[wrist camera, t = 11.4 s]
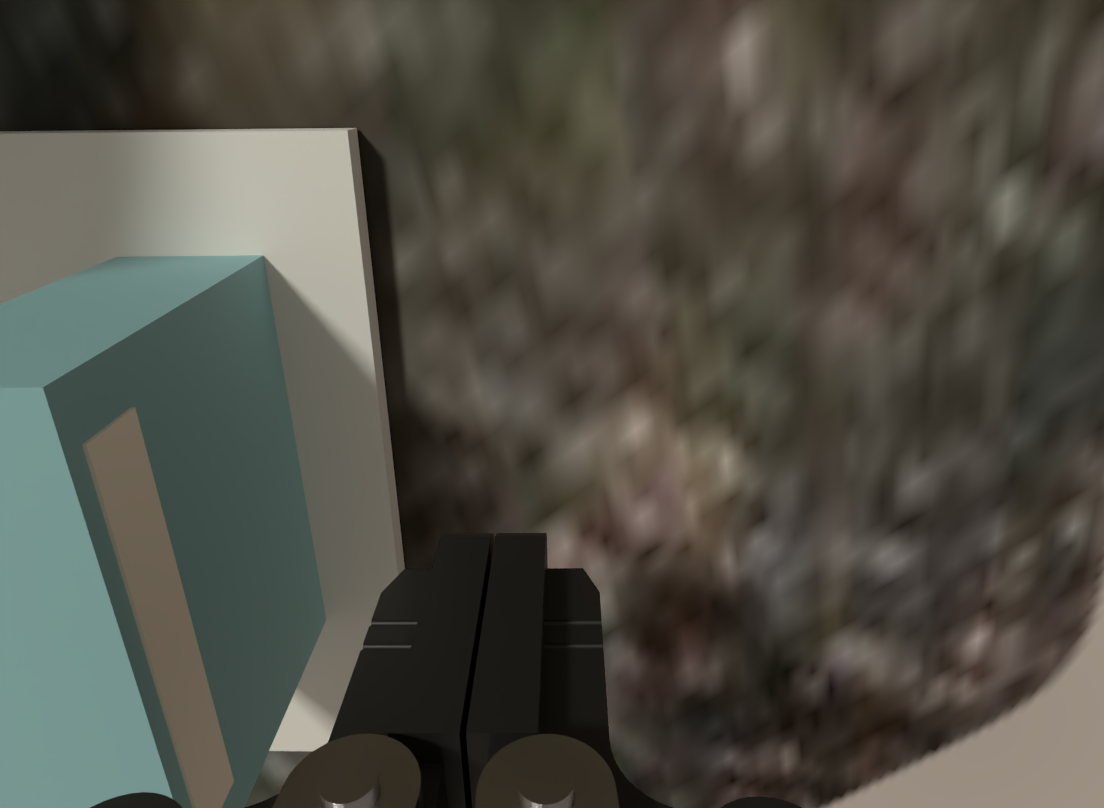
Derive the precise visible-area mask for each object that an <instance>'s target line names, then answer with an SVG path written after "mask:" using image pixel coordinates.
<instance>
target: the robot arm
mask: <svg viewBox="0 0 1104 808" xmlns="http://www.w3.org/2000/svg"><path fill="white" fill-rule="evenodd" d="M90 808H182V807H181V805H180V804H178V803H177V802H176V801H175V800H174V799H172V798H170V797H168V796H166V795H162V794H158V793H150V792H140V793H130V794H126V795H121V796H117V797H114V798H111V799H108V800H106V801H103V802H101V803H99V804H96V805H94V806H92V807H90ZM245 808H672V807H669V806H667V805H664V804H661V803H659V802H657V801H655V800H653V799H652V798H650V797H648V796H646V795H645V794H644V793H642V792H641V791H640V790H638V789H637V788H636V787H635V786H634V785H633V784H632V783H631V782H629V781H628V780H627V778H626V777H625V776H624V774H623V773H622V772H621V771H620V769H619V767H618V765H617V764H616V762H615V760H614V757H613V754H612V751H611V747H610V741H609V727H608V712H607V697H606V682H605V667H604V652H603V637H602V625H601V608H600V593H599V591H598V589H597V588H596V586H595V585H594V583H593V582H592V581H591V579H590V578H589V576H588V575H587V573H586V572H585V571H584V569H583V568H573V569H548V568H547V535H546V533H497V534H496V537H495V541H494V536H493V534H442V535H441V538H440V541H439V545H438V548H437V552H436V556H435V559H434V563H433V567H432V569H404V570H403V571H402V572H401V573H400V574H399V575H398V576H397V577H396V578H395V579H394V580H393V581H392V582H391V583H390V584H389V585H388V586H387V587H386V588H385V589H384V590H383V591H382V592H381V594H380V597H379V600H378V603H377V606H376V608H375V611H374V614H373V617H372V620H371V626H369V628H368V631H367V634H366V637H365V639H364V642H363V650H361V651H360V653H359V656H358V659H357V662H356V665H355V668H354V670H353V673H352V676H351V679H350V682H349V684H348V687H347V690H346V693H345V696H344V699H343V701H342V704H341V707H340V710H339V713H338V715H337V718H336V721H335V724H334V727H333V730H332V732H331V735H330V738H329V741H328V743H326V744H325V745H323V746H321V747H319V748H318V749H316V750H314V751H313V752H312V753H310V754H309V755H308V756H306V757H305V758H304V759H303V760H302V761H301V762H300V763H299V764H298V765H297V766H296V767H295V768H294V770H293V771H292V772H291V773H290V775H289V776H288V778H287V780H286V781H285V783H284V785H283V787H282V789H281V791H280V793H279V794H277V795H275V796H273V797H271V798H269V799H267V800H265V801H263V802H260V803H257V804H254V805H251V806H249V807H245ZM721 808H801V807H799V806H797V805H794V804H792V803H789V802H787V801H783V800H779V799H775V798H768V797H747V798H743V799H738V800H735V801H733V802H730V803H728V804H726V805H724V806H723V807H721Z"/></svg>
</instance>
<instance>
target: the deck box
mask: <svg viewBox="0 0 1104 808" xmlns="http://www.w3.org/2000/svg"><path fill="white" fill-rule="evenodd" d="M325 622H326V615H325V609H324V604H323V598H322V592H321V586H320V580H319V575H318V569H317V563H316V557H315V551H314V546H313V540H312V534H311V528H310V522H309V517H308V511H307V505H306V499H305V493H304V488H303V482H302V476H301V470H300V464H299V459H298V453H297V447H296V441H295V435H294V430H293V424H292V418H291V412H290V406H289V401H288V395H287V389H286V383H285V377H284V372H283V366H282V360H281V354H280V348H279V343H278V337H277V331H276V325H275V319H274V314H273V308H272V302H271V296H270V290H269V285H268V279H267V273H266V267H265V261H264V256H263V255H240V256H147V257H115V258H112V259H110V260H107V261H105V262H102V263H100V264H98V265H95V266H93V267H90V268H88V269H85V270H83V271H80V272H78V273H75V274H73V275H70V276H68V277H66V278H63V279H61V280H58V281H56V282H53V283H51V284H48V285H46V286H43V287H41V288H38V289H36V290H34V291H31V292H29V293H26V294H24V295H21V296H19V297H16V298H14V299H11V300H9V301H6V302H4V303H2V304H0V808H90V807H92V806H94V805H96V804H99V803H101V802H103V801H106V800H108V799H111V798H114V797H117V796H121V795H126V794H130V793H140V792H150V793H158V794H162V795H166V796H168V797H170V798H172V799H174V800H175V801H176V802H177V803H178V804H180V805H181V807H182V808H244V807H245V805H246V802H247V800H248V798H249V796H250V793H251V791H252V789H253V786H254V784H255V782H256V780H257V777H258V775H259V773H260V770H261V768H262V766H263V764H264V761H265V759H266V757H267V754H268V752H269V750H270V748H271V745H272V743H273V741H274V738H275V736H276V734H277V732H278V729H279V727H280V725H281V722H282V720H283V718H284V716H285V713H286V711H287V709H288V706H289V704H290V702H291V699H292V697H293V695H294V693H295V690H296V688H297V686H298V683H299V681H300V679H301V677H302V674H303V672H304V670H305V667H306V665H307V663H308V661H309V658H310V656H311V654H312V651H313V649H314V647H315V645H316V642H317V640H318V638H319V635H320V633H321V631H322V629H323V626H324V624H325Z"/></svg>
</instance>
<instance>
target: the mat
mask: <svg viewBox="0 0 1104 808" xmlns="http://www.w3.org/2000/svg"><path fill="white" fill-rule="evenodd" d="M240 255H263V256H264V261H265V267H266V273H267V279H268V285H269V290H270V296H271V302H272V308H273V314H274V319H275V325H276V331H277V337H278V343H279V348H280V354H281V360H282V366H283V372H284V377H285V383H286V389H287V395H288V401H289V406H290V412H291V418H292V424H293V430H294V435H295V441H296V447H297V453H298V459H299V464H300V470H301V476H302V482H303V488H304V493H305V499H306V505H307V511H308V517H309V522H310V528H311V534H312V540H313V546H314V551H315V557H316V563H317V569H318V575H319V580H320V586H321V592H322V598H323V604H324V609H325V615H326V622H325V624H324V626H323V629H322V631H321V633H320V635H319V638H318V640H317V642H316V645H315V647H314V649H313V651H312V654H311V656H310V658H309V661H308V663H307V665H306V667H305V670H304V672H303V674H302V677H301V679H300V681H299V683H298V686H297V688H296V690H295V693H294V695H293V697H292V699H291V702H290V704H289V706H288V709H287V711H286V713H285V716H284V718H283V720H282V722H281V725H280V727H279V729H278V732H277V734H276V736H275V738H274V741H273V743H272V745H271V748H270V750H269V751H314V750H316V749H318V748H319V747H321V746H323V745H325V744H326V743H328V741H329V738H330V735H331V732H332V730H333V727H334V724H335V721H336V718H337V715H338V713H339V710H340V707H341V704H342V701H343V699H344V696H345V693H346V690H347V687H348V684H349V682H350V679H351V676H352V673H353V670H354V668H355V665H356V662H357V659H358V656H359V653H360V651H361V650H363V642H364V639H365V637H366V634H367V631H368V628H369V626H371V620H372V617H373V614H374V611H375V608H376V606H377V603H378V600H379V597H380V594H381V592H382V591H383V590H384V589H385V588H386V587H387V586H388V585H389V584H390V583H391V582H392V581H393V580H394V579H395V578H396V577H397V576H398V575H399V574H400V573H401V572H402V571H403V570H404V569H405V565H404V556H403V547H402V538H401V528H400V519H399V510H398V501H397V492H396V483H395V473H394V464H393V455H392V446H391V437H390V427H389V418H388V409H387V400H386V391H385V382H384V372H383V363H382V354H381V345H380V336H379V327H378V317H377V308H376V299H375V290H374V281H373V272H372V262H371V253H370V244H369V235H368V226H367V217H366V207H365V198H364V189H363V180H362V171H361V162H360V152H359V143H358V134H357V128H302V129H193V130H85V131H0V304H2V303H4V302H6V301H9V300H11V299H14V298H16V297H19V296H21V295H24V294H26V293H29V292H31V291H34V290H36V289H38V288H41V287H43V286H46V285H48V284H51V283H53V282H56V281H58V280H61V279H63V278H66V277H68V276H70V275H73V274H75V273H78V272H80V271H83V270H85V269H88V268H90V267H93V266H95V265H98V264H100V263H102V262H105V261H107V260H110V259H112V258H115V257H147V256H240Z"/></svg>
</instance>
